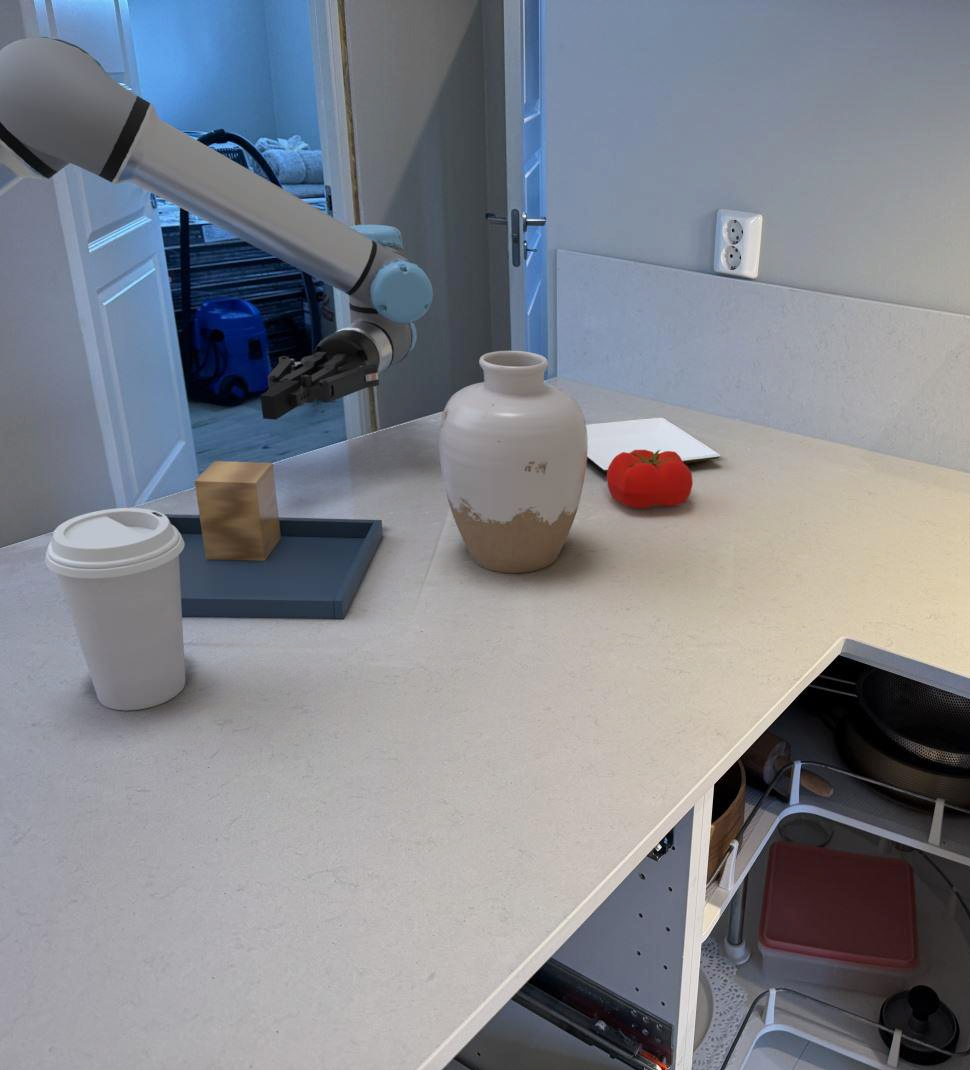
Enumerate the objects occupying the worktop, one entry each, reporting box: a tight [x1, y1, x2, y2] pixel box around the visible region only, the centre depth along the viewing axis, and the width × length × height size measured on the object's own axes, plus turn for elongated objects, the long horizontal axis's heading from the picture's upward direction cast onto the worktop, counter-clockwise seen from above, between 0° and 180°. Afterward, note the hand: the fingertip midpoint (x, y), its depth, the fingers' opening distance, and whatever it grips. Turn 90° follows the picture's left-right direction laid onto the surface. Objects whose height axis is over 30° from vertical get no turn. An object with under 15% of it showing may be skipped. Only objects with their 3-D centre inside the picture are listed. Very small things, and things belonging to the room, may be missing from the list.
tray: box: [163, 513, 384, 620], centre depth 103 cm, size 24×20×2 cm
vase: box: [438, 350, 588, 574], centre depth 108 cm, size 16×16×23 cm
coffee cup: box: [44, 507, 186, 711], centre depth 81 cm, size 10×10×15 cm
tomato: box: [606, 450, 694, 510], centre depth 129 cm, size 10×11×6 cm
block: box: [194, 460, 281, 561], centre depth 106 cm, size 6×6×9 cm
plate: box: [586, 417, 721, 473], centre depth 147 cm, size 19×19×2 cm
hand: (268, 407), depth 110 cm, fingers closed
